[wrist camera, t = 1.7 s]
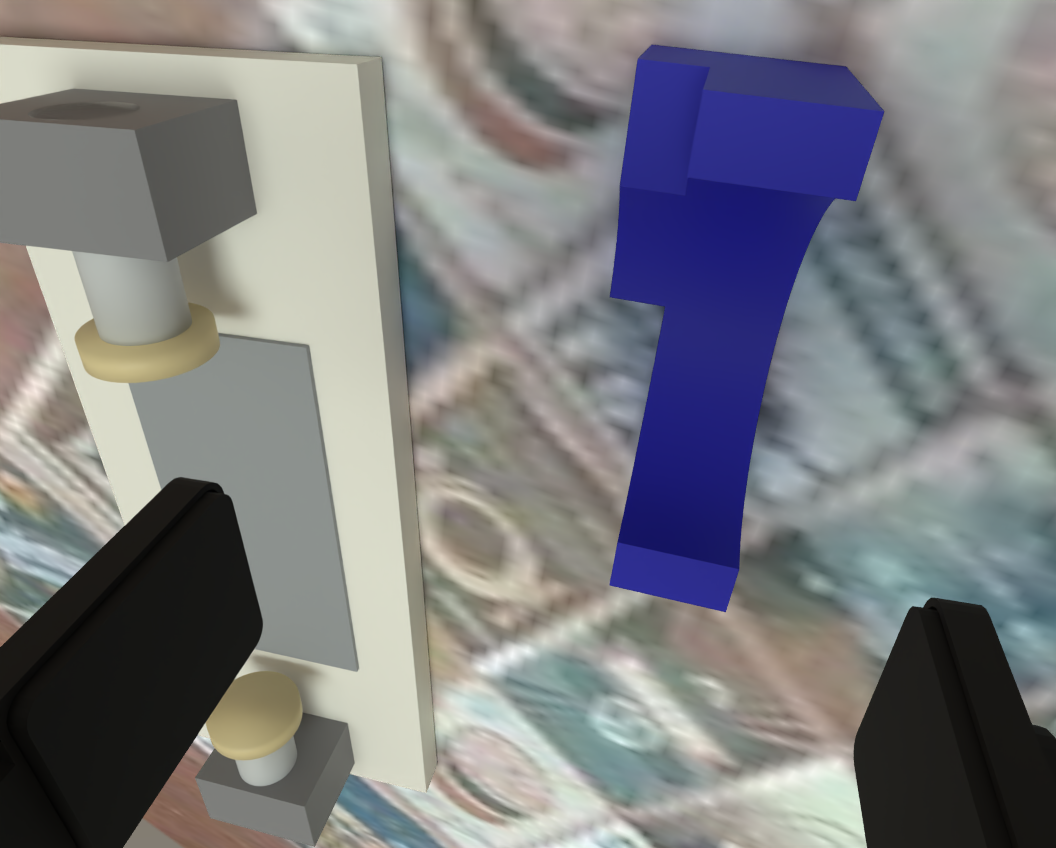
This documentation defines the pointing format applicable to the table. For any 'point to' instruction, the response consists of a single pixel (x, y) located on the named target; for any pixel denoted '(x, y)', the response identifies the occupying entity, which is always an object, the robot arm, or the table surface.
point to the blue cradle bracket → (718, 282)
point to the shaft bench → (245, 372)
